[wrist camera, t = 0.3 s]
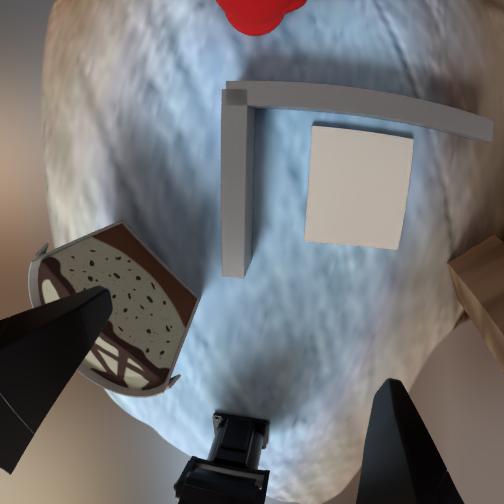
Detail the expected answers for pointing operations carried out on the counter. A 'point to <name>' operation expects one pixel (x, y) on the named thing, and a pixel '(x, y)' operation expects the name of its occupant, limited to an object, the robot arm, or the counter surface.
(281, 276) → the counter surface
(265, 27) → the cap
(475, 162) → the counter surface
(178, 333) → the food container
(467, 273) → the walnut block
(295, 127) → the counter surface
